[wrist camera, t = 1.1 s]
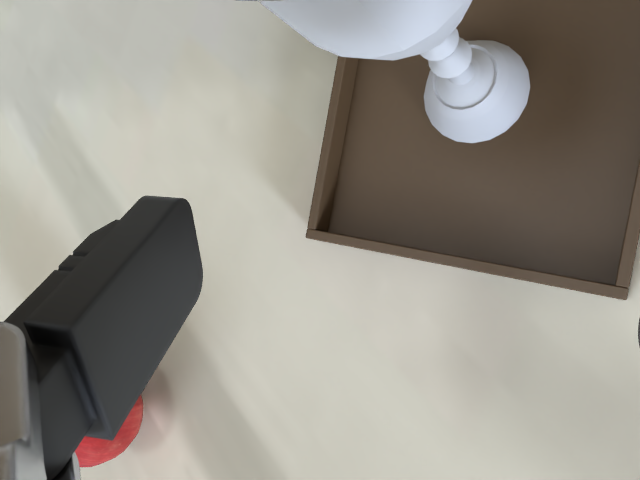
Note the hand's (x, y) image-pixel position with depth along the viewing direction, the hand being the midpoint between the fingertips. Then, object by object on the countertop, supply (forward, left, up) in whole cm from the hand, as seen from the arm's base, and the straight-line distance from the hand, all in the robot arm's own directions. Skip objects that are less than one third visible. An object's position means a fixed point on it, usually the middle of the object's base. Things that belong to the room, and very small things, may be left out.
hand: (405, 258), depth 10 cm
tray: (-8, -4, -18) cm, 20 cm away
